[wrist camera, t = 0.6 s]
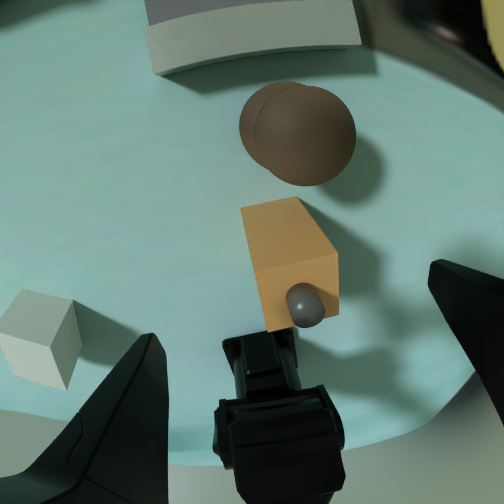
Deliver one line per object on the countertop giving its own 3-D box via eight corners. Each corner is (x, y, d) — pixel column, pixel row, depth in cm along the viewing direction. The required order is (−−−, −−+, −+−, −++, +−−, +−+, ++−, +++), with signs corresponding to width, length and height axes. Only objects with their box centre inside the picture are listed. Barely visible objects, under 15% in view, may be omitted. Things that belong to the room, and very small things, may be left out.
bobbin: (333, 162, 20) (366, 183, 15) (248, 178, 20) (259, 203, 15) (322, 78, 17) (355, 74, 12) (230, 90, 16) (236, 87, 12)
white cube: (21, 287, 21) (-7, 329, 16) (73, 298, 23) (49, 346, 17) (35, 333, 24) (14, 375, 19) (83, 344, 25) (66, 391, 20)
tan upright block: (302, 245, 23) (348, 333, 14) (250, 256, 23) (272, 352, 14) (296, 196, 21) (350, 270, 12) (240, 208, 21) (259, 291, 12)
